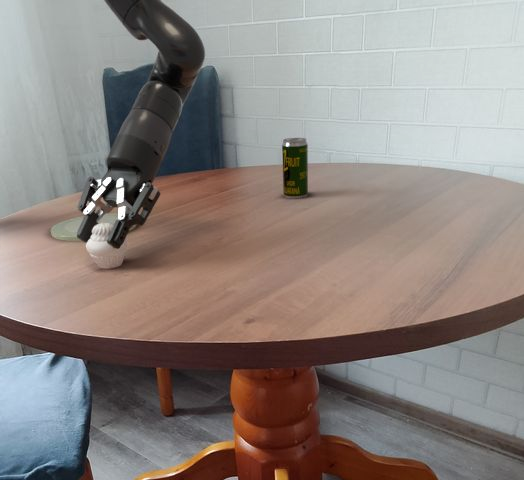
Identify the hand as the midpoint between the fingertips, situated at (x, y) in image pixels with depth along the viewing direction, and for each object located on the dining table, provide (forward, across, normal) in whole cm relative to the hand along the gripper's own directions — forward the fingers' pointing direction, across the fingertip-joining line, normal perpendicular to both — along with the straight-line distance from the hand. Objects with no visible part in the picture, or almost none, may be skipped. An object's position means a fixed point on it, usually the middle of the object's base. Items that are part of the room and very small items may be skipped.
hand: (97, 242), depth 81 cm
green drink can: (-34, +4, +40) cm, 53 cm away
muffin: (+2, 0, +4) cm, 5 cm away
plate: (-8, -19, +14) cm, 25 cm away
